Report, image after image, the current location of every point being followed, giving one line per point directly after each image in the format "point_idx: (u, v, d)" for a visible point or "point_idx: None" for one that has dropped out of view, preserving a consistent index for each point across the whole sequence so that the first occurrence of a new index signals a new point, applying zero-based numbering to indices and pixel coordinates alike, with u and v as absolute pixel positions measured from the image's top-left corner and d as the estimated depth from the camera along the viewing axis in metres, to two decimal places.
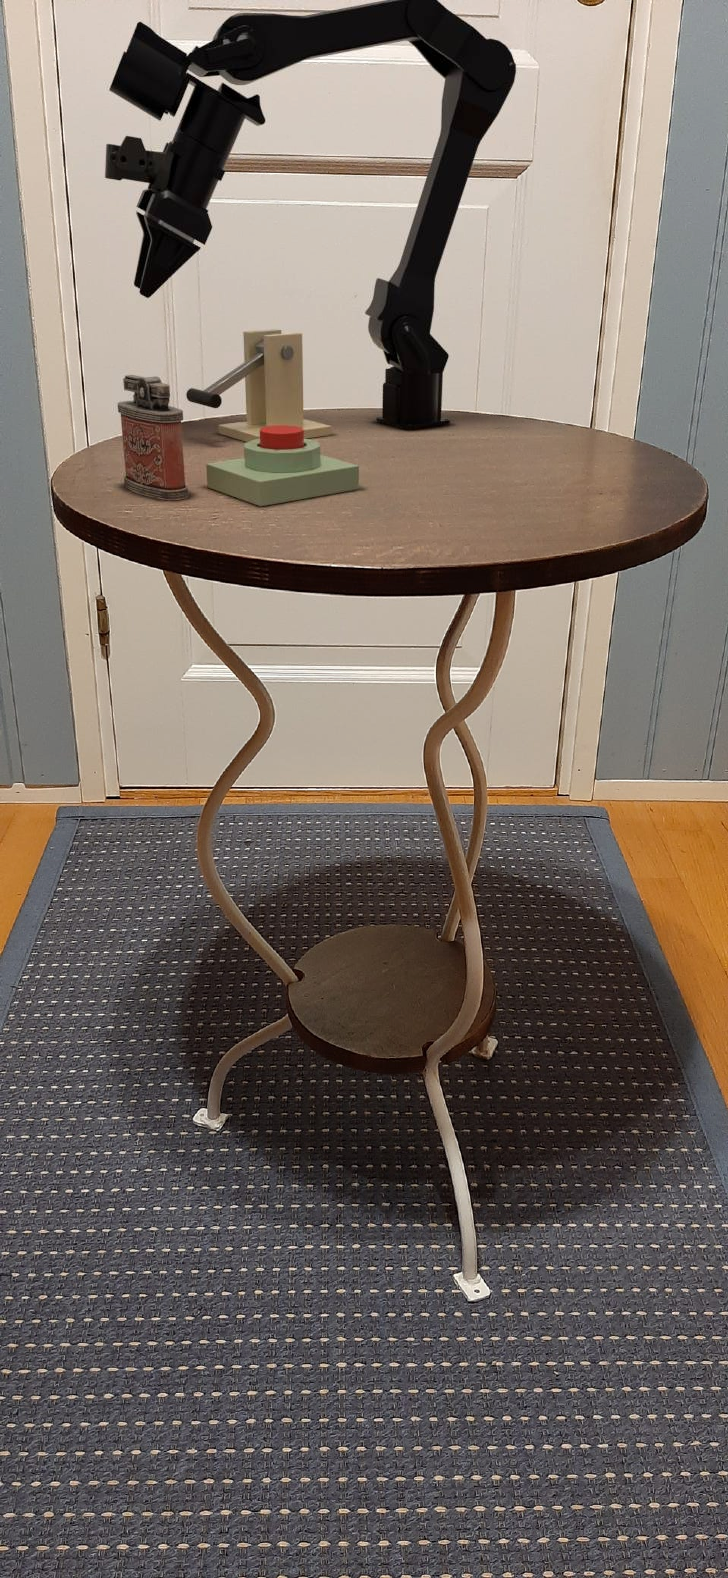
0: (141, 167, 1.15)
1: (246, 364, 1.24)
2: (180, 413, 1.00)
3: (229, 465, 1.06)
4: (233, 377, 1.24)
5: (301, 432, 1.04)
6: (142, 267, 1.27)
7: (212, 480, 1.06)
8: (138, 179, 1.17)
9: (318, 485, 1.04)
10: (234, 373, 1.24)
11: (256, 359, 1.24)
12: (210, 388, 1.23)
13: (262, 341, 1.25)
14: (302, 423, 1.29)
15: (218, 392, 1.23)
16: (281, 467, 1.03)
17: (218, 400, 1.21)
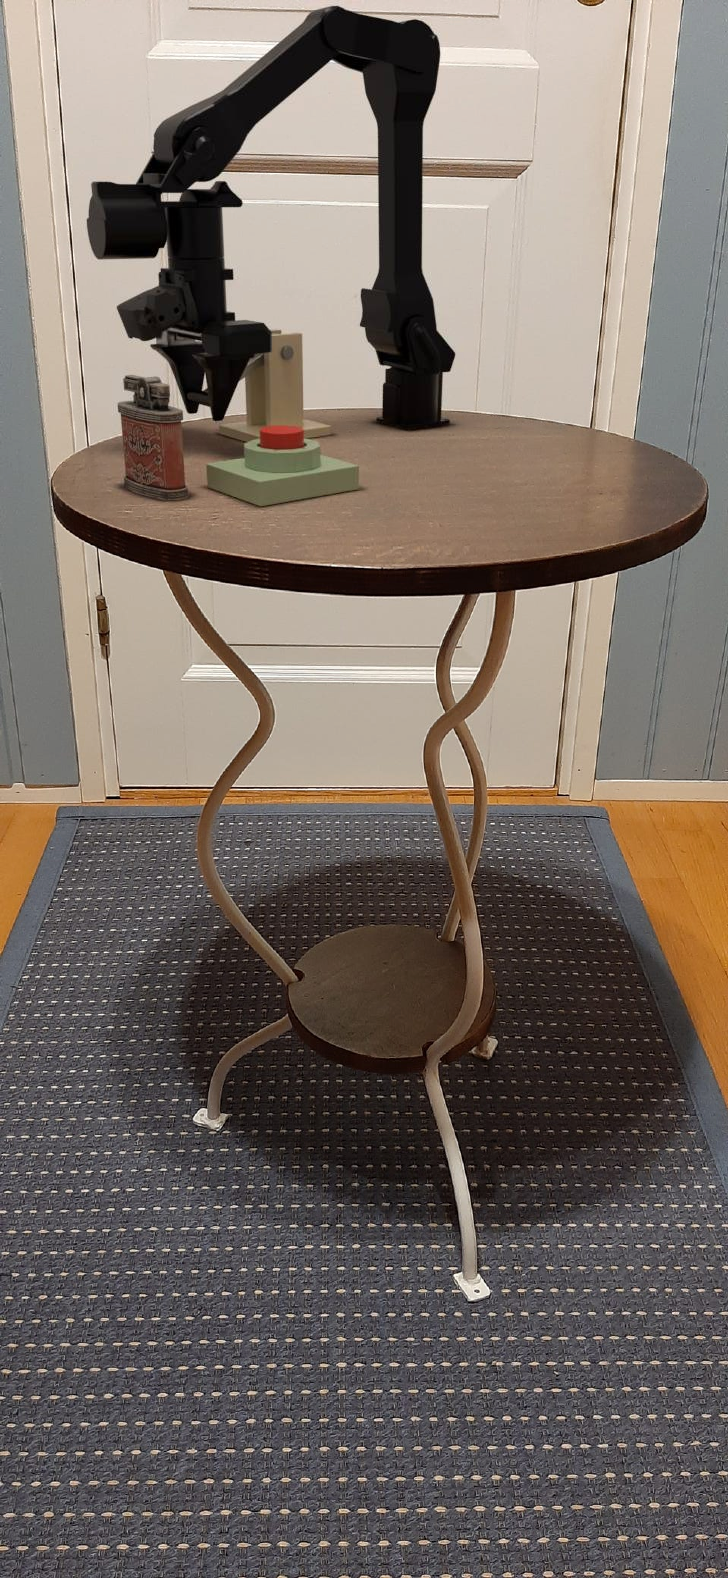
0: (178, 315, 1.13)
1: None
2: (180, 413, 1.00)
3: (229, 465, 1.06)
4: None
5: (301, 432, 1.04)
6: None
7: (212, 480, 1.06)
8: (171, 325, 1.15)
9: (318, 485, 1.04)
10: None
11: (256, 359, 1.24)
12: None
13: None
14: (302, 423, 1.29)
15: None
16: (281, 467, 1.03)
17: None
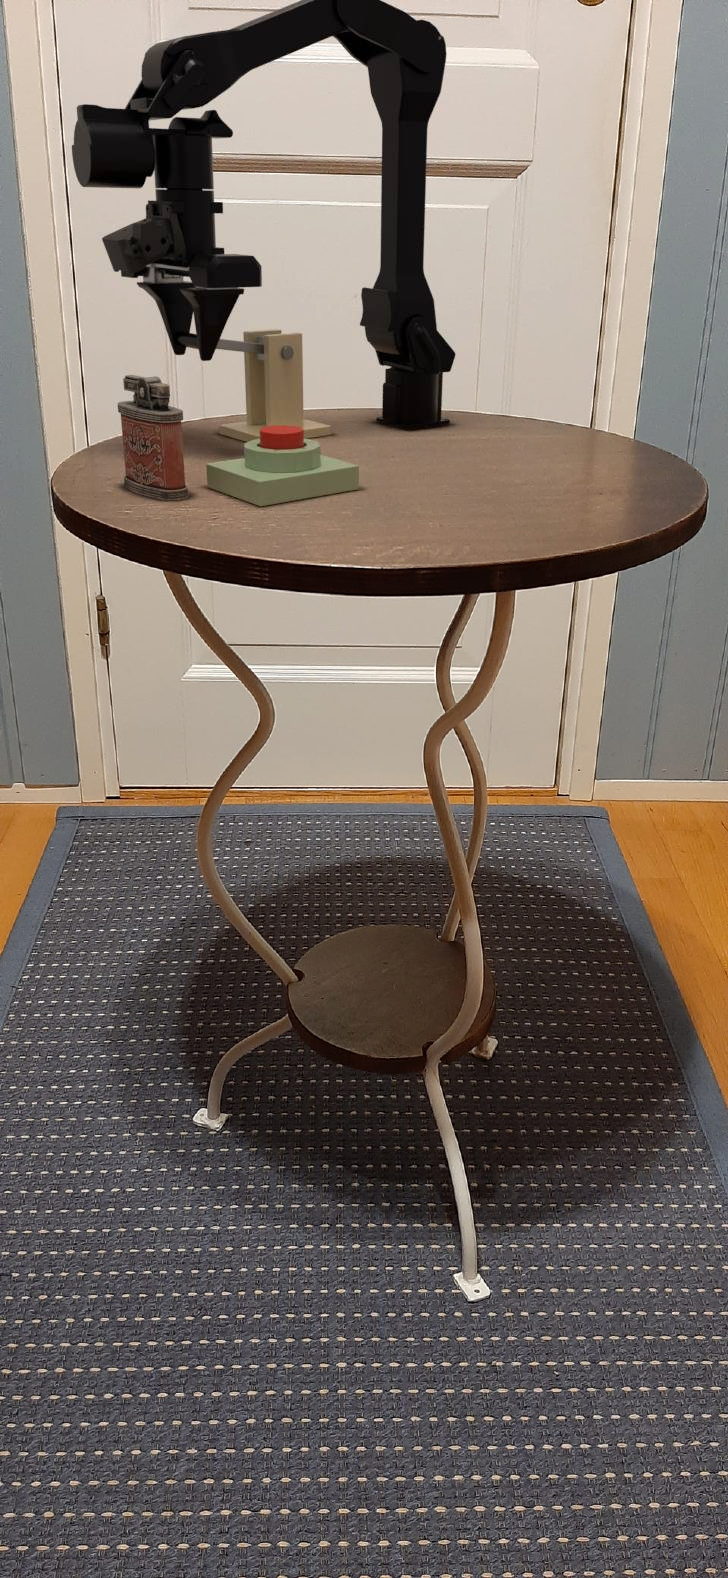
0: (165, 246, 1.10)
1: None
2: (180, 413, 1.00)
3: (229, 465, 1.06)
4: (229, 342, 1.22)
5: (301, 432, 1.04)
6: (175, 333, 1.21)
7: (212, 480, 1.06)
8: (158, 257, 1.12)
9: (318, 485, 1.04)
10: (231, 340, 1.22)
11: (255, 344, 1.24)
12: None
13: None
14: (302, 423, 1.29)
15: None
16: (281, 467, 1.03)
17: None
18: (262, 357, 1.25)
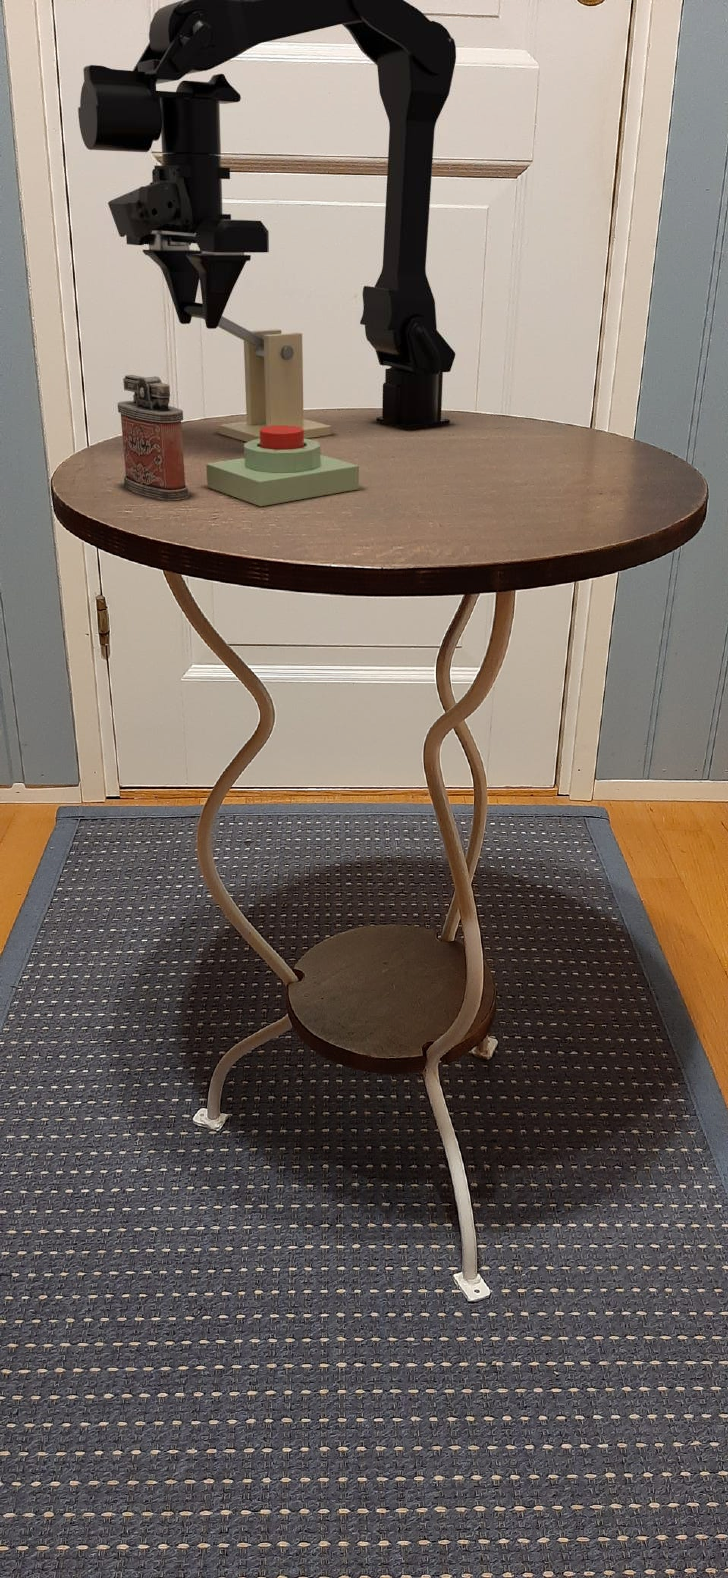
0: (171, 210, 1.09)
1: (248, 331, 1.23)
2: (180, 413, 1.00)
3: (229, 465, 1.06)
4: (233, 324, 1.21)
5: (301, 432, 1.04)
6: (181, 302, 1.20)
7: (212, 480, 1.06)
8: (165, 222, 1.11)
9: (318, 485, 1.04)
10: (236, 324, 1.22)
11: (258, 336, 1.24)
12: None
13: None
14: (302, 423, 1.29)
15: None
16: (281, 467, 1.03)
17: None
18: (261, 352, 1.25)
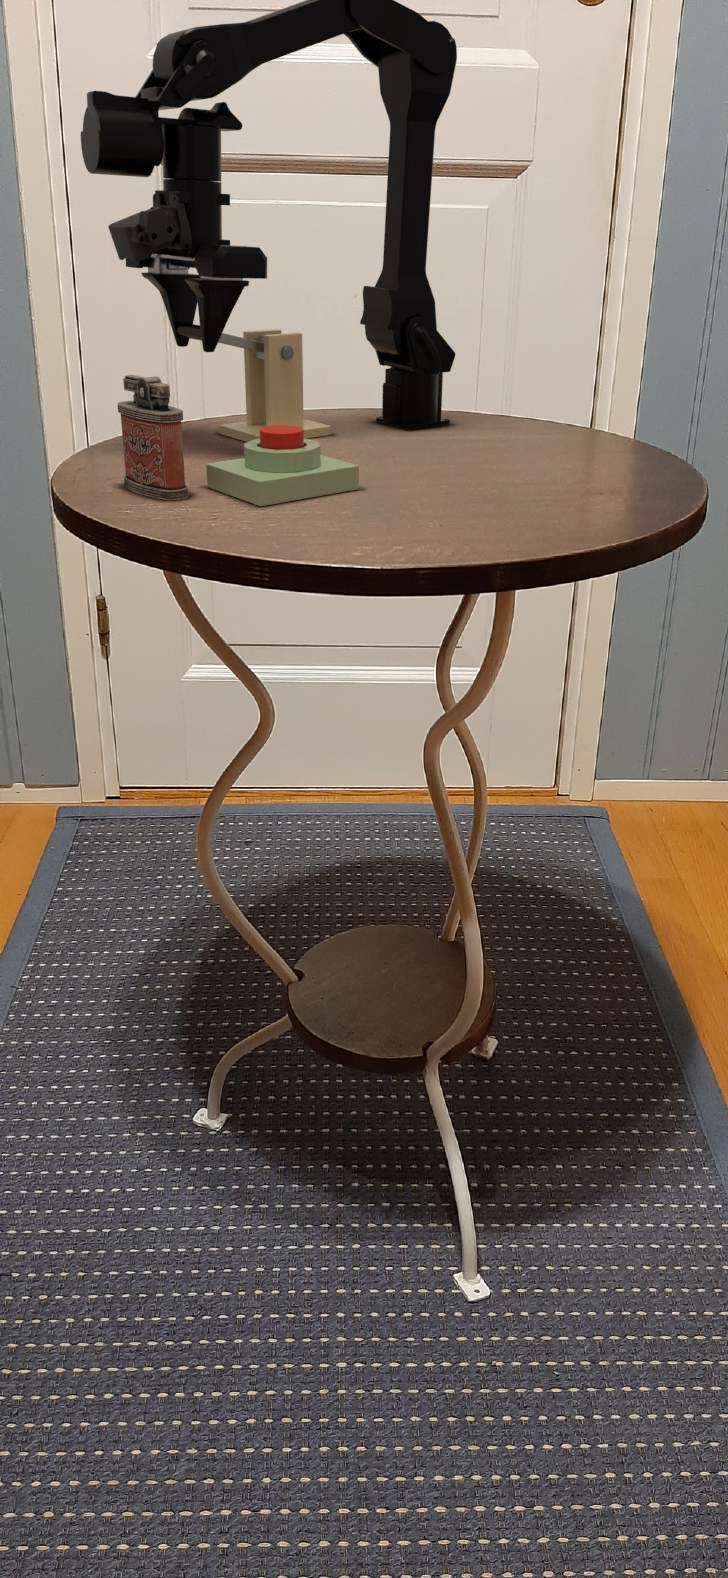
0: (171, 234, 1.10)
1: (245, 338, 1.23)
2: (180, 413, 1.00)
3: (229, 465, 1.06)
4: (229, 337, 1.22)
5: (301, 432, 1.04)
6: None
7: (212, 480, 1.06)
8: (164, 246, 1.12)
9: (318, 485, 1.04)
10: (232, 335, 1.22)
11: (256, 341, 1.24)
12: None
13: None
14: (302, 423, 1.29)
15: None
16: (281, 467, 1.03)
17: None
18: (262, 356, 1.25)
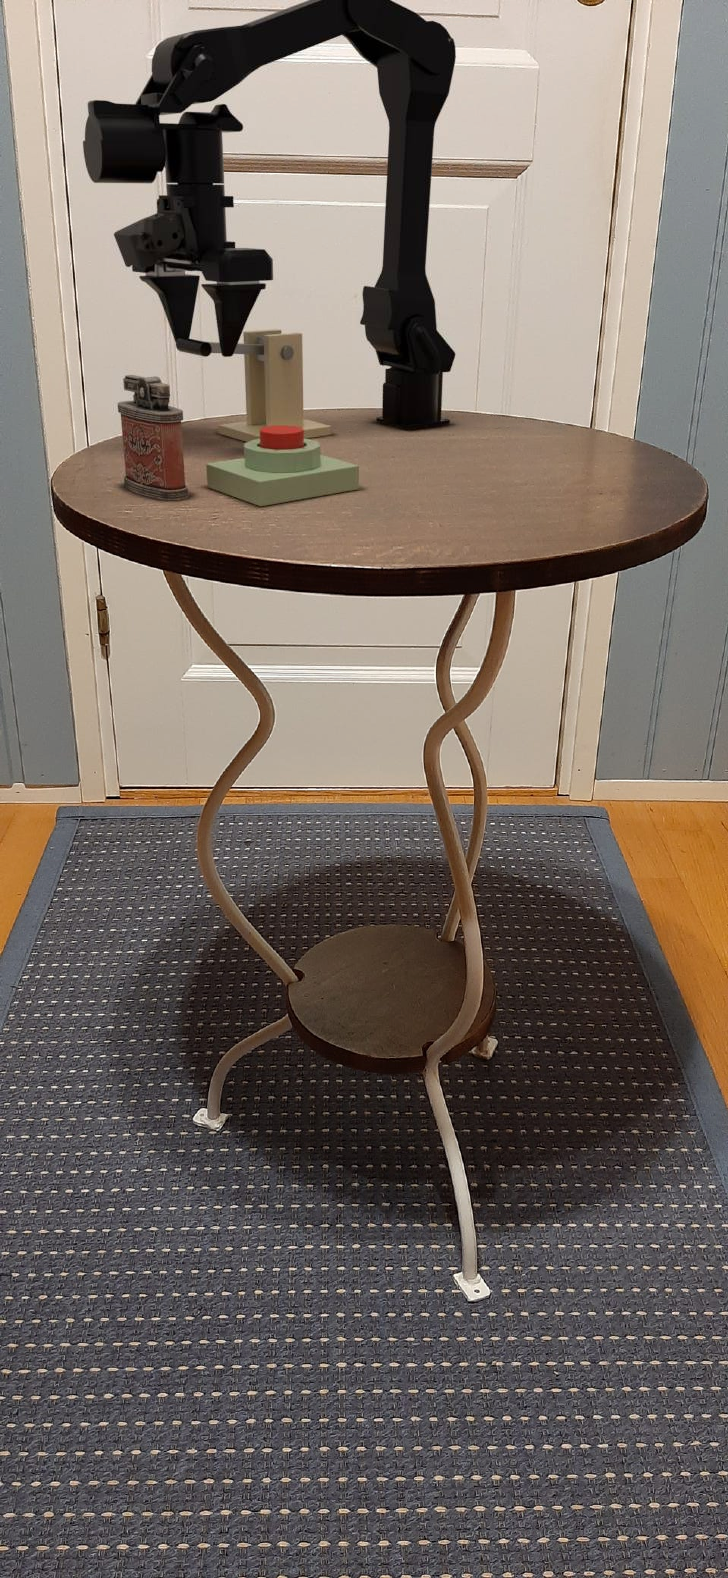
0: (176, 240, 1.10)
1: (244, 344, 1.23)
2: (180, 413, 1.00)
3: (229, 465, 1.06)
4: None
5: (301, 432, 1.04)
6: (178, 326, 1.23)
7: (212, 480, 1.06)
8: (170, 252, 1.12)
9: (318, 485, 1.04)
10: None
11: (255, 345, 1.24)
12: None
13: None
14: (302, 423, 1.29)
15: None
16: (281, 467, 1.03)
17: (208, 350, 1.18)
18: (262, 358, 1.25)
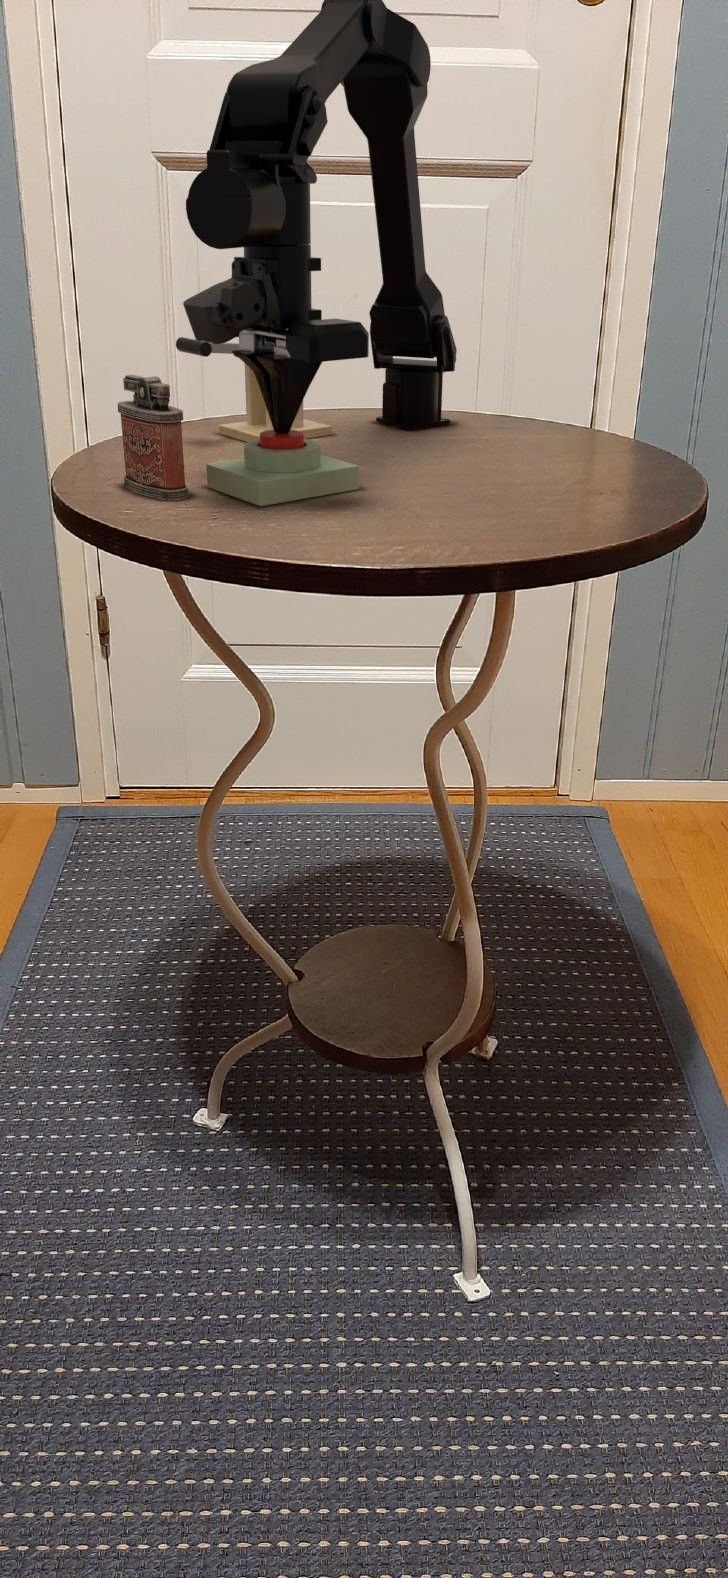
0: (258, 313, 0.94)
1: None
2: (180, 413, 1.00)
3: (229, 465, 1.06)
4: (228, 345, 1.22)
5: (301, 436, 1.04)
6: None
7: (212, 480, 1.06)
8: (249, 324, 0.96)
9: (318, 485, 1.04)
10: (231, 343, 1.22)
11: None
12: None
13: None
14: (302, 423, 1.29)
15: None
16: (281, 467, 1.03)
17: (208, 350, 1.18)
18: None
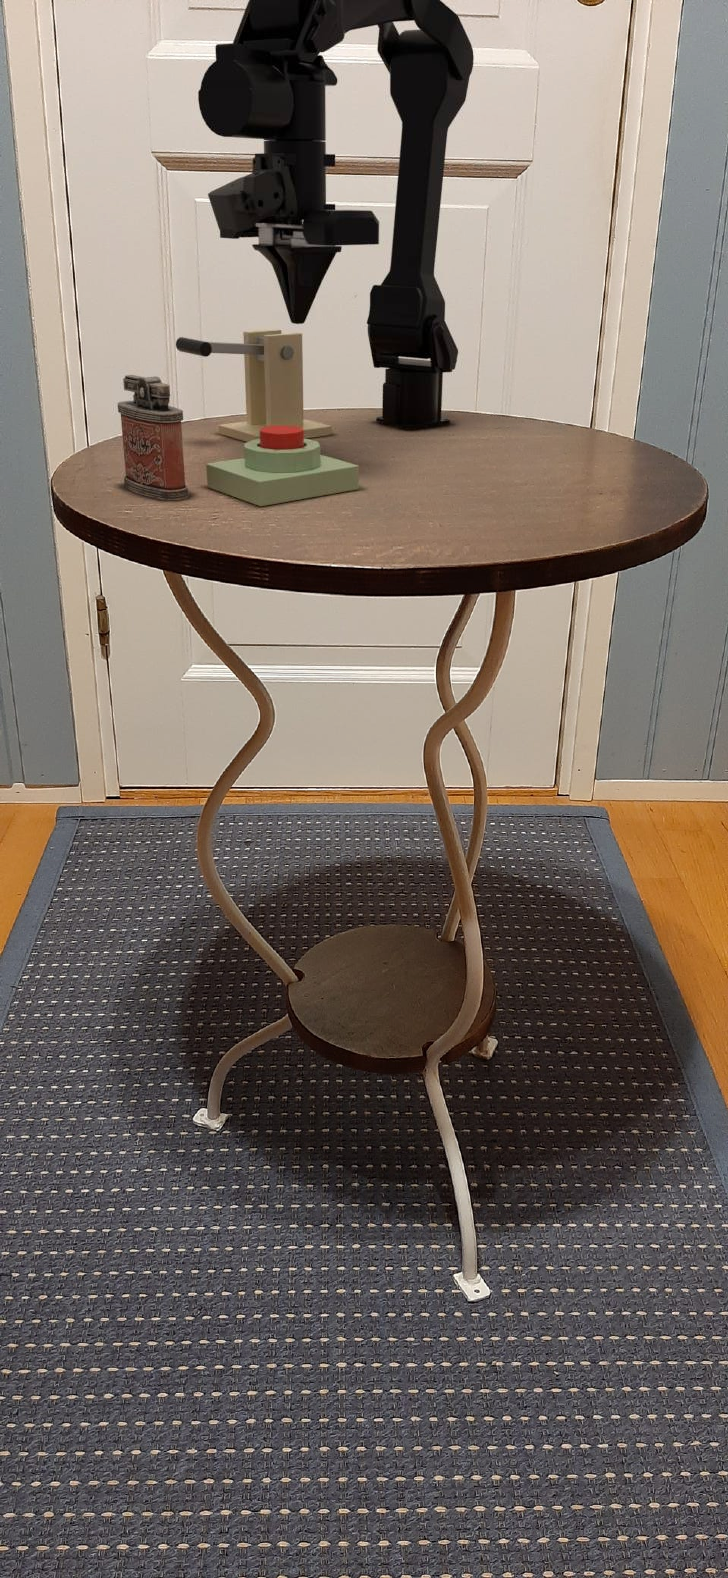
0: (277, 201, 1.02)
1: (244, 344, 1.23)
2: (180, 413, 1.00)
3: (229, 465, 1.06)
4: (228, 345, 1.22)
5: (301, 432, 1.04)
6: None
7: (212, 480, 1.06)
8: (269, 214, 1.04)
9: (318, 485, 1.04)
10: (231, 343, 1.22)
11: (255, 345, 1.24)
12: None
13: None
14: (302, 423, 1.29)
15: None
16: (281, 467, 1.03)
17: (208, 350, 1.18)
18: (262, 358, 1.25)
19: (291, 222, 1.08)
